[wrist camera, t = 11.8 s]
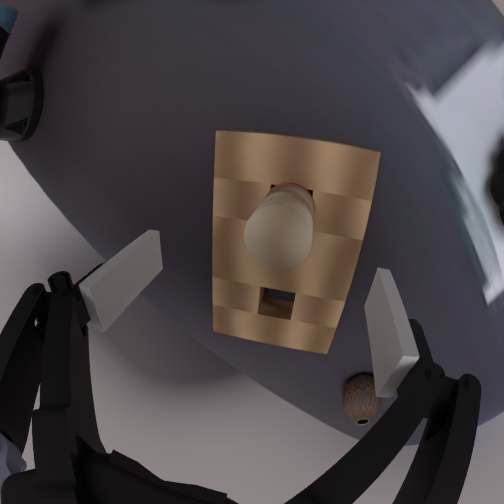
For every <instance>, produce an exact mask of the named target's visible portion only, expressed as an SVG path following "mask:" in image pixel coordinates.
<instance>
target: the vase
mask: <svg viewBox="0 0 504 504" xmlns="http://www.w3.org/2000/svg"><path fill="white" fill-rule="evenodd" d="M381 402H382V397H376V393H375V381H374V377H373V376H370V375H367V374H361V375H357V376H355V377H353V378H352V379H351V380H349V382H348V383H347V384H346V386H345V388H344V390H343V395H342V404H343V407H344V410H345V412H346V413H347V414H348V415H349V416H350V417H351V418H352V419H353V420H354V422H355V424H356V425H366V424H368V423H369V422H370V421H371V418H372V417H373V416H374V414H375V413H376V412H377V411H378V409H379V407H380V405H381Z"/></svg>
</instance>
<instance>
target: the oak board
mask: <svg viewBox="0 0 504 504" xmlns="http://www.w3.org/2000/svg"><path fill="white" fill-rule="evenodd" d="M379 160H380V152H378V151H375V150H373V149H369V148H364V147H359V146H354V145H349V144H344V143H339V142H333V141H327V140H321V139H315V138H308V137H301V136H293V135H284V134H275V133H265V132H253V131H239V130H220V131H216V143H215V165H214V194H213V253H212V280H213V331H215V332H219V333H223V334H227V335H231V336H235V337H240V338H244V339H249V340H253V341H258V342H263V343H268V344H272V345H278V346H283V347H288V348H294V349H299V350H305V351H311V352H317V353H324V354H327V352H328V350H329V347H330V344H331V342H332V339H333V336H334V333H335V331H336V328H337V325H338V322H339V319H340V316H341V313H342V310H343V307H344V304H345V301H346V298H347V295H348V292H349V288H350V285H351V282H352V278H353V275H354V272H355V268H356V264H357V261H358V257H359V253H360V250H361V246H362V242H363V238H364V234H365V230H366V226H367V221H368V217H369V212H370V208H371V203H372V198H373V193H374V188H375V183H376V177H377V172H378V166H379ZM287 182H290V183H296V184H299V185H301V186H303V187H304V188H306V189H308V190H313V194H312V197H313V199H314V203H315V214H314V223H313V236H312V245H311V249H310V251H309V253H308V255H307V256H306V258H305V259H304V260H303V261H302V262H301V263H299V264H298V265H296V266H294V267H291V268H287V269H274V268H269V267H267V266H264V265H262V264H261V263H259V262H258V261H256V260H255V259H254V258H253V257H252V256H251V254H250V253H249V251H248V249H247V247H246V245H245V241H244V230H245V226H246V224H247V221H248V220H249V218H250V217H251V216H252V214H253V213H254V212H255V210H256V209H257V208H258V206H259V205H260V204H261V202H262V201H263V200H264V198H265V197H266V195H267V194H268V192H269V191H270V190H271V189H272V188H273V187H275V186H276V185H278V184H281V183H287ZM265 287H266V288H271V289H276V290H282V291H287V292H293V293H296V294H295V299H294V301H288V300H283V299H277V298H272V297H267V296H264V290H265Z"/></svg>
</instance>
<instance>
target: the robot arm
mask: <svg viewBox="0 0 504 504" xmlns="http://www.w3.org/2000/svg"><path fill="white" fill-rule="evenodd" d="M16 18H17V10H16V9H15V8H13V7H10V6H6V5H1V4H0V59H1V56H2V53H3V50H4V48H5V45H6V43H7V40H8V38H9V35H11V30H12V27H13V25H14V23H15V20H16ZM42 101H43V83H42V79H41V76H40V74H39V72H38V71H37V70H35V69H25V70H21V71H19V72H17V73H15V74H12V75H10V76H8V77H6V78H4V79H2V80H0V140H5V141H12V142H18V141H22V140H26V139H28V138H29V137H30V136H31V135H32V133H33V132H34V130H35V128H36V126H37V123H38V120H39V117H40V113H41V108H42ZM162 269H163V266H162V257H161V246H160V234H159V231H155V230H148V231H147V232H145V233H144V234H142V235H141V236H140V237H138V238H137V239H136V240H134V241H133V242H132V243H130V244H129V245H128V246H126V247H125V248H124V249H122V250H121V251H120V252H119V253H117V254H116V255H115V256H113V257H112V258H111V259H110V260H108V261H107V262H104V263H102V264H100V265H98V266H97V267H95V268H94V269H93V270H92V271H90V272H89V273H88V275H85V276H84V277H83V278H82V279H81V280H79V281H78V282H77V283H76V284H75V285H73V283H72V280H71V276H70V274H69V273H68V272H66V271H60V272H57V273H55V274H53V275H51V276H50V277H49V279H48V283H49V286H50V289H51V292H46V290H45V287H44V285H43V284H42V283H35V284H32V285H31V286H29V287H28V288H27V289H26V291H25V292H24V294H23V295H22V297H21V299H20V300H19V302H18V304H17V305H16V307H15V309H14V310H13V312H12V314H11V315H10V317H9V319H8V321H7V323H6V325H5V326H4V328H3V330H2V332H1V334H0V494H1V504H238V503H236V502H235V501H233V500H231V499H229V498H227V494H226V493H223V492H219V491H215V490H211V489H208V488H205V487H201V486H198V485H192V484H184V483H176V482H169V481H164V480H162V479H160V478H159V477H157V476H156V475H154V474H153V473H151V472H150V471H149V470H147V469H146V468H145V467H144V466H142V465H141V464H140V463H138V462H137V461H135V460H133V459H131V458H129V457H127V456H125V455H123V454H121V453H119V452H117V451H115V450H113V451H112V453H111V454H109V453H106V451H105V448H104V447H103V444H102V442H101V440H100V437H99V433H98V428H97V422H96V416H95V409H94V403H93V394H92V386H91V376H90V362H89V341H88V326H87V323H88V322H89V321H90V320H91V322H92V326H93V328H94V329H96V330H99V331H101V332H103V333H104V332H105V331H106V330H107V329H108V328H109V327H110V325H111V324H112V323H113V322H114V321H115V320H116V319H117V318H118V317H119V315H120V314H121V313H122V312H123V311H124V310H125V309H126V308H127V307H128V306H129V304H130V303H131V302H132V301H133V300H134V299H135V298H136V297H137V295H139V294H140V293H141V292H142V290H143V289H144V288H145V287H146V286H147V285H148V284H149V283H150V282H151V281H152V280H153V279H154V278H155V277H156V276H157V275H158V274H159V273H160V272H161V270H162ZM364 308H365V314H366V320H367V326H368V333H369V339H370V347H371V354H372V363H373V372H374V381H375V393H376V397H392V395H393V394H394V393H395V392H396V390H397V395H398V398H397V399H396V400H395V401H394V403H393V404H392V405H391V406H390V407H389V409H388V410H387V411H386V412H385V413H384V415H383V416H382V417H381V418H380V419H379V420H378V421H377V423H376V424H375V425H374V426H373V427H372V428H371V429H370V430H369V431H368V432H367V433H366V434H365V436H364V437H363V438H362V439H361V440H360V441H359V442H358V443H357V444H356V445H355V446H354V447H353V448H352V449H351V450H350V451H348V453H346V454H345V455H344V456H343V457H342V458H341V459H340V460H339V461H338V462H337V463H336V464H335V465H333V466H332V467H331V468H330V469H329V470H327V471H326V472H325V473H324V474H323V475H322V476H320V477H319V478H318V479H317V480H315V481H314V482H313V483H312V484H310V485H309V486H308V487H307V488H305V489H304V490H303V491H301V492H300V493H298V494H297V495H296V496H294V497H293V498H291V499H290V500H289V501H287V502H286V503H284V504H352V503H353V502H355V500H356V499H358V497H360V496H361V494H363V493H364V492H365V491H366V489H368V487H369V486H370V485H371V484H372V483H373V482H374V481H375V480H376V479H377V478H378V477H379V476H380V474H381V473H382V472H383V471H384V470H385V468H386V467H387V466H388V465H389V464H390V463H391V461H392V460H393V459H394V458H395V456H396V455H397V454H398V453H399V451H400V450H401V449H402V447H403V446H404V445H405V443H406V442H407V441H408V439H409V438H410V437H411V435H412V434H413V432H414V431H415V429H416V428H417V426H418V425H419V423H420V422H421V420H422V419H423V417H424V418H427V419H428V420H427V424H426V427H425V430H424V433H423V436H422V438H421V441H420V444H419V447H418V449H417V452H416V454H415V457H414V460H413V462H412V464H411V467H410V469H409V471H408V473H407V476H406V478H405V480H404V482H403V484H402V486H401V488H400V490H399V492H398V494H397V496H396V498H395V500H394V502H393V503H392V504H457V502H458V500H459V497H460V494H461V491H462V488H463V485H464V482H465V478H466V475H467V471H468V468H469V464H470V460H471V456H472V451H473V446H474V441H475V436H476V430H477V424H478V417H479V409H480V399H481V384H480V382H479V380H478V379H477V378H476V377H475V376H473V375H471V374H464V375H462V376H461V377H460V379H459V380H456V379H453V378H449V377H447V376H445V372H444V370H443V369H442V367H441V366H439V365H438V364H436V363H434V362H433V359H432V356H431V353H430V350H429V347H428V344H427V342H426V338H425V336H424V332H423V329H422V327H421V325H420V324H419V323H418V322H417V320H416V319H408V318H407V315H406V312H405V309H404V306H403V303H402V300H401V298H400V295H399V292H398V290H397V287H396V284H395V282H394V279H393V277H392V274H391V272H390V270H388V269H382V268H377V271H376V274H375V278H374V281H373V283H372V286H371V289H370V292H369V295H368V298H367V300H366V303H365V306H364ZM35 319H36V321H37V325H36V326H35ZM39 385H40V407H39V409H37V410H34V411H33V408H34V403H35V400H36V396H37V392H38V388H39ZM31 417H32V438H33V452H34V461H35V469H32V470H27V471H24V470H26V467H27V466H26V462H25V461H24V459H22V453H23V451H24V448H25V445H26V441H27V437H28V432H29V427H30V422H31ZM21 471H23V472H21Z"/></svg>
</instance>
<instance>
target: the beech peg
mask: <svg viewBox="0 0 504 504" xmlns="http://www.w3.org/2000/svg"><path fill="white" fill-rule="evenodd" d="M314 214H315V203H314V199H313V197H312V195H311V194H310V192H309V191H308V190H307V189H306V188H304V187H303V186H301V185H299V184H296V183H290V182H287V183H281V184H278V185H276V186H275V187H273V188H272V189H271V190H270V191H269V192H268V194H267V195H266V197H265V198H264V200H263V201H262V202H261V204H260V205H259V206H258V208H257V209H256V210H255V212H254V213H253V214H252V216H251V217H250V218H249V220H248V221H247V224H246V226H245V230H244V241H245V245H246V247H247V249H248V251H249V253H250V254H251V256H252V257H253V258H254V259H255V260H256V261H258V262H259V263H261V264H262V265H264V266H267V267H269V268H274V269H287V268H291V267H294V266H296V265H298V264H299V263H301V262H302V261H303V260H304V259H305V258H306V256H307V255H308V253H309V251H310V249H311V245H312V236H313V223H314Z"/></svg>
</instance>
